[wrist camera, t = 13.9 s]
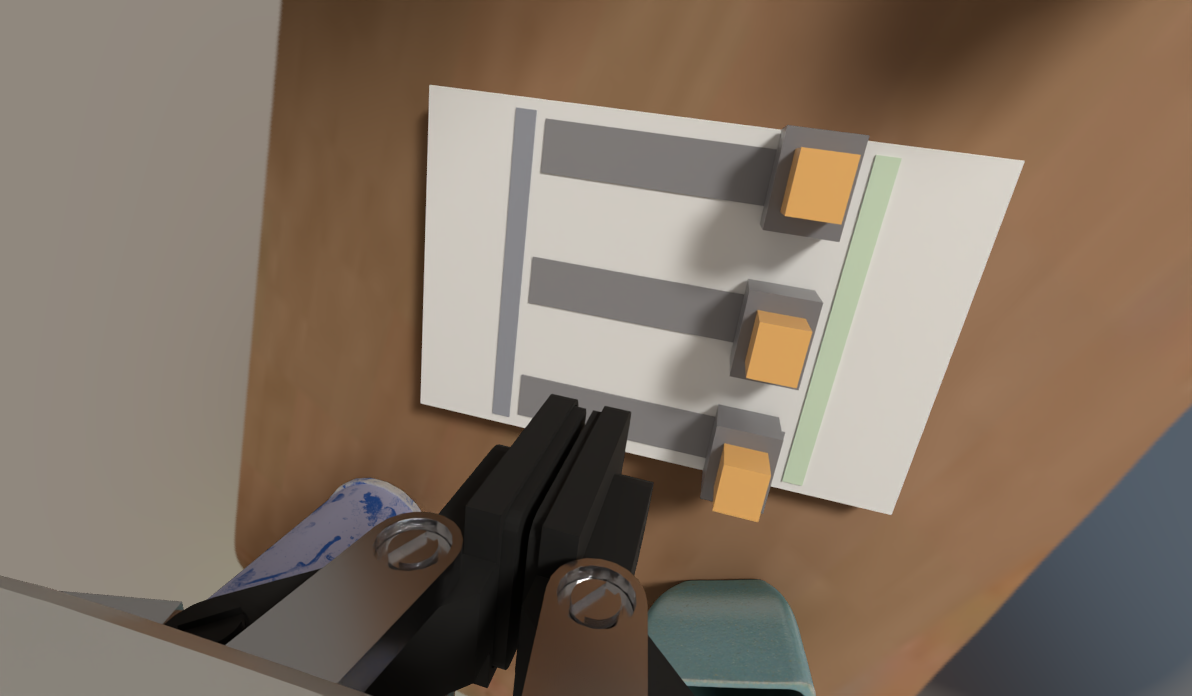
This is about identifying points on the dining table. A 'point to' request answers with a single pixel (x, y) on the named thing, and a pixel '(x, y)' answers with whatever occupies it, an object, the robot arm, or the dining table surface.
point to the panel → (691, 281)
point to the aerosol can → (325, 532)
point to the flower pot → (731, 639)
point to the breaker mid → (774, 333)
